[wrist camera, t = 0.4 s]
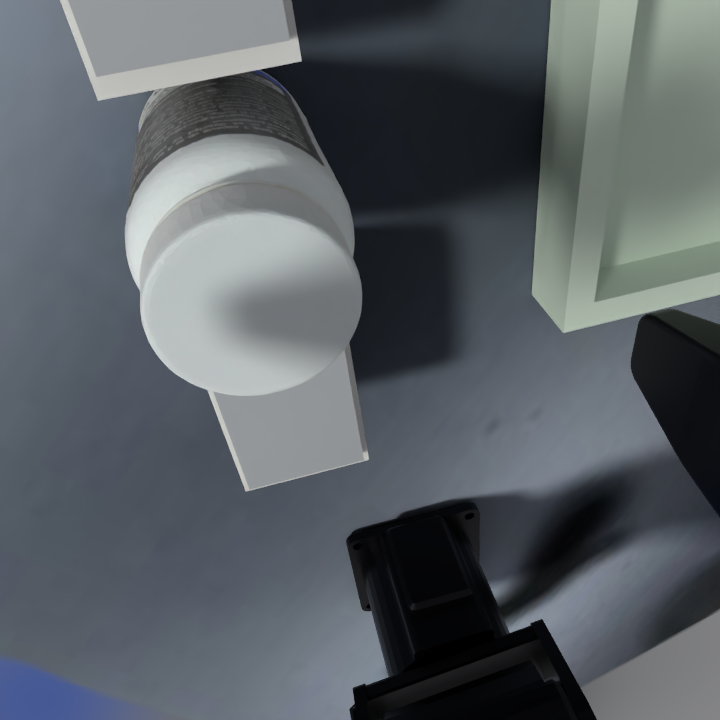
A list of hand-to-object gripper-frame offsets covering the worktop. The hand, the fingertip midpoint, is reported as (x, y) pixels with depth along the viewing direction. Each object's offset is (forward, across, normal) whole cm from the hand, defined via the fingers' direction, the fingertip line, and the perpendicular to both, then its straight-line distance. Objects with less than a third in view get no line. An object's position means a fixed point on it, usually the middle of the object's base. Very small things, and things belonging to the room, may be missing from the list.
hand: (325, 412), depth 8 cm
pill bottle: (+12, +1, 0) cm, 12 cm away
